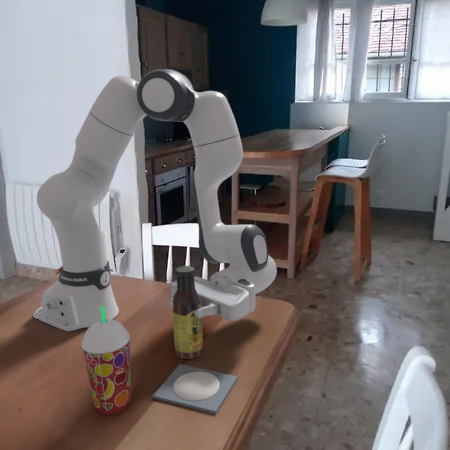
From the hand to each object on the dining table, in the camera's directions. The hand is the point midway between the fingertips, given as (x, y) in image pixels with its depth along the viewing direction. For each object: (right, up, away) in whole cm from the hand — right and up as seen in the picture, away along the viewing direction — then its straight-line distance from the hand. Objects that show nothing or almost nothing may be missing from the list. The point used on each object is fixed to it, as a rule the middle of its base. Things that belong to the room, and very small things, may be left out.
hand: (183, 309), depth 95 cm
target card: (+3, -14, -9) cm, 17 cm away
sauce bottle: (+1, -11, +4) cm, 11 cm away
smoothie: (-12, -16, -13) cm, 23 cm away
